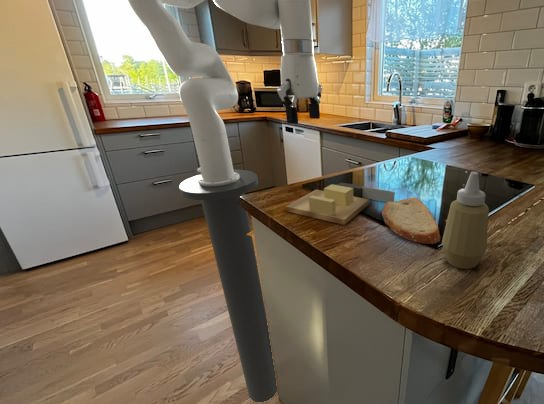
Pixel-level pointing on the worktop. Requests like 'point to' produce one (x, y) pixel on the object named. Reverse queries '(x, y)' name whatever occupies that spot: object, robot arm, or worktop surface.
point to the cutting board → (342, 212)
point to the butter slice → (322, 205)
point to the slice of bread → (411, 220)
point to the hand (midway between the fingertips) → (304, 120)
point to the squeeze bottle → (466, 226)
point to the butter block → (339, 194)
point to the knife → (370, 192)
